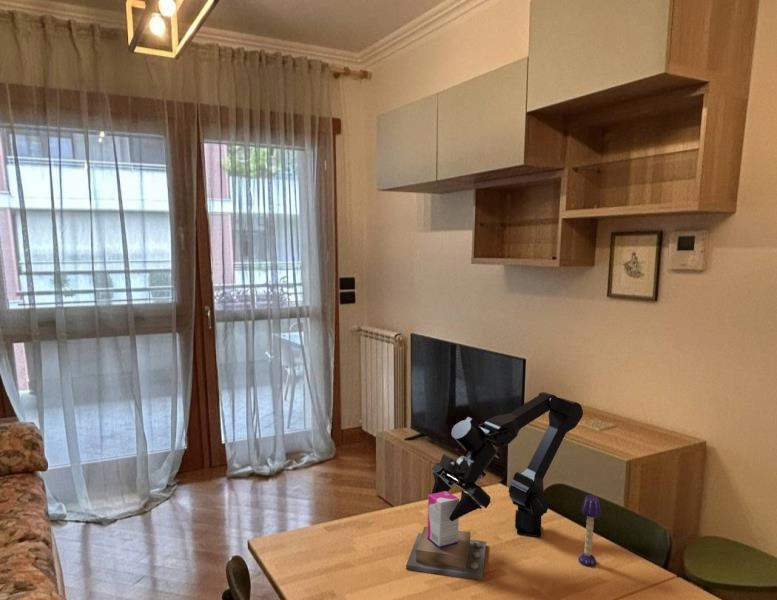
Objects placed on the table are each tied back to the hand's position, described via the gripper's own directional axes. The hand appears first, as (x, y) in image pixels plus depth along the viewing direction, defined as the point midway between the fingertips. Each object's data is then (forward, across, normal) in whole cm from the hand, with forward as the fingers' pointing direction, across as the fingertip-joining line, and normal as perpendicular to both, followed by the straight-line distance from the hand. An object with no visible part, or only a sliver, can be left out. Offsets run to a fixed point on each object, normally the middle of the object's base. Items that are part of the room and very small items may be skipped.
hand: (439, 512), depth 133 cm
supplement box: (+5, 0, +6) cm, 8 cm away
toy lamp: (-14, +19, +31) cm, 39 cm away
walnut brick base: (+7, 0, +9) cm, 12 cm away
